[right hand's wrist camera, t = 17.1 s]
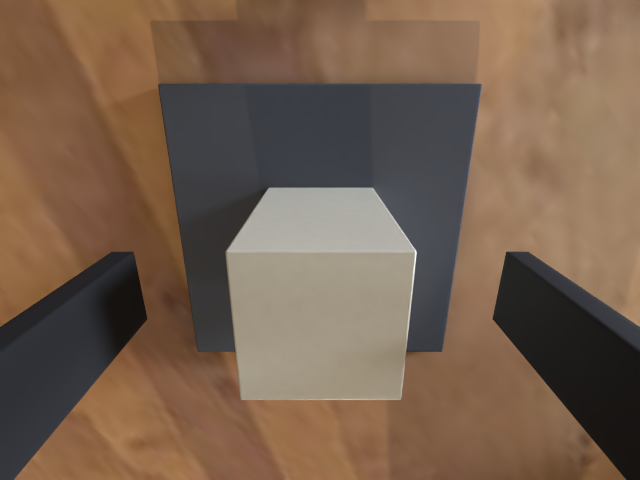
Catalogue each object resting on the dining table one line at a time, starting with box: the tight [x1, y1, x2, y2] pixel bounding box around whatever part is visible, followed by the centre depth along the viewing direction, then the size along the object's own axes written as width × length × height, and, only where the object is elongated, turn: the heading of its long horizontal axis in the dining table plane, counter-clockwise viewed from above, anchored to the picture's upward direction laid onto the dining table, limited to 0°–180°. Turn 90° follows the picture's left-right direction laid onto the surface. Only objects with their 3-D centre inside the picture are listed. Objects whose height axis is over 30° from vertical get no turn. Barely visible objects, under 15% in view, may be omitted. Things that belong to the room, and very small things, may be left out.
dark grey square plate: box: [158, 84, 482, 352], centre depth 18 cm, size 14×14×1 cm
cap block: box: [225, 188, 417, 400], centre depth 14 cm, size 5×5×8 cm
